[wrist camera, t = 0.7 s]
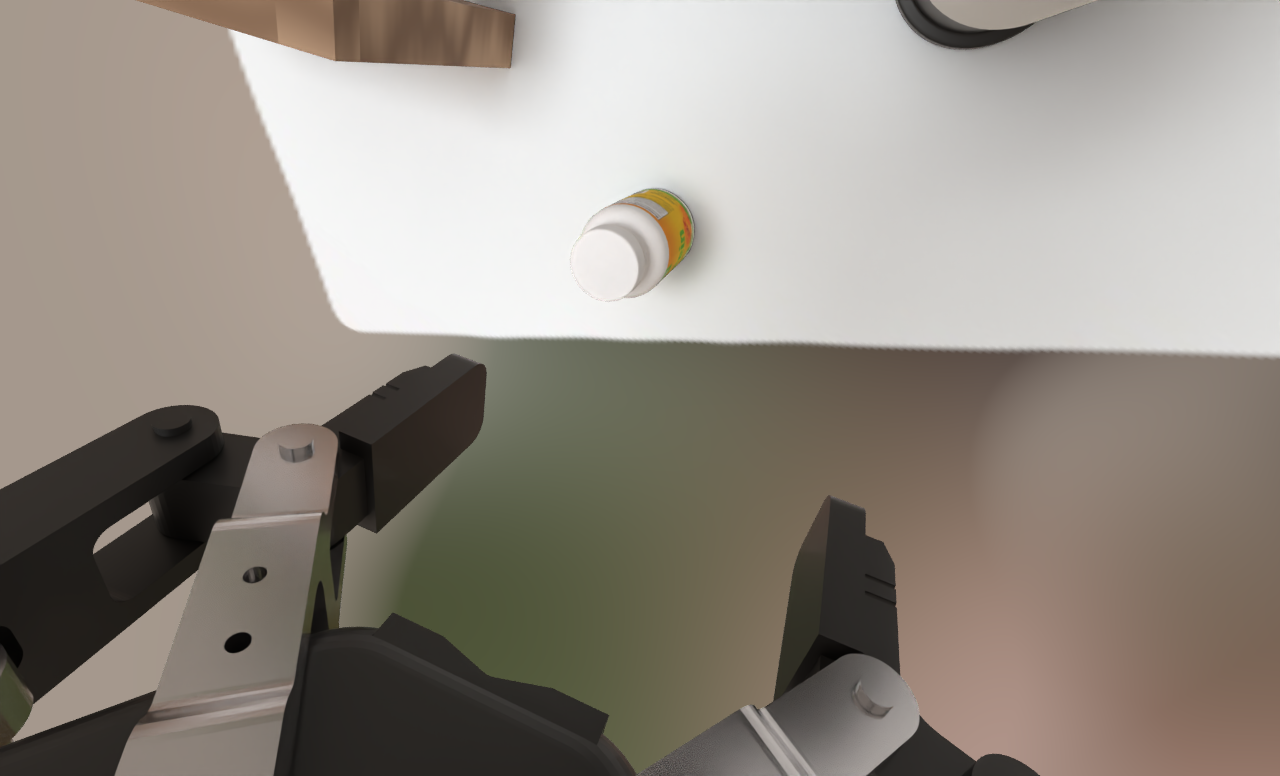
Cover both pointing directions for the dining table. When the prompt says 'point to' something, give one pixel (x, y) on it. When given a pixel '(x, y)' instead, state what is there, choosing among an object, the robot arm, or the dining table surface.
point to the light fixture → (977, 19)
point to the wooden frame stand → (368, 28)
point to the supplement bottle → (632, 245)
